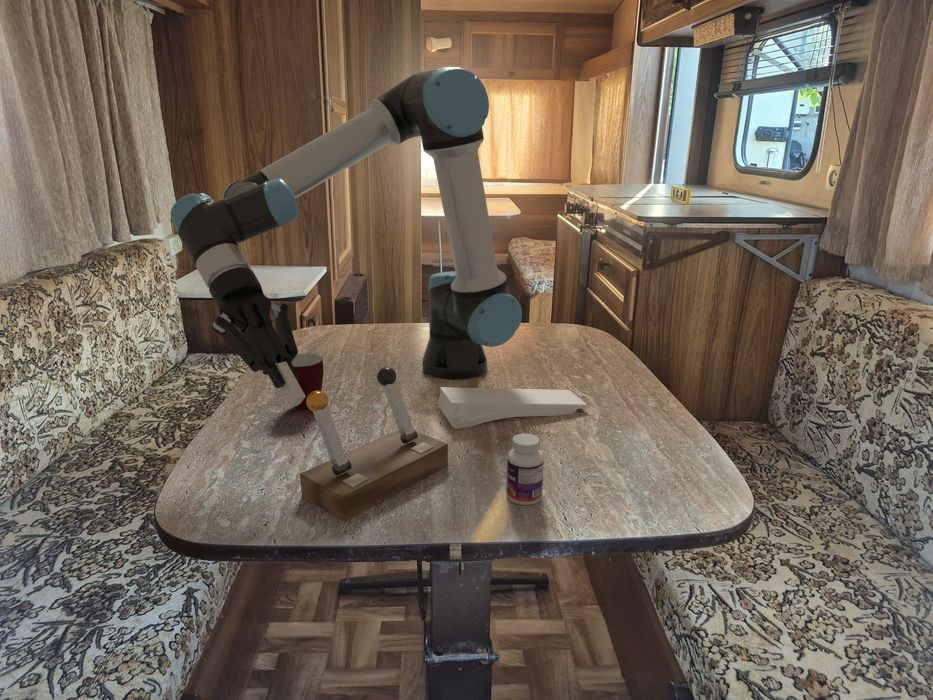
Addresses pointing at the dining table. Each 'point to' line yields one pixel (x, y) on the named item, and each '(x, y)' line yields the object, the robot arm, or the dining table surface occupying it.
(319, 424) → the orange knob lever
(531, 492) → the pill bottle
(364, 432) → the dining table surface
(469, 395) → the wall bracket
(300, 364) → the mug
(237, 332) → the robot arm
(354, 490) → the switch box
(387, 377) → the black knob lever
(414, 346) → the dining table surface
